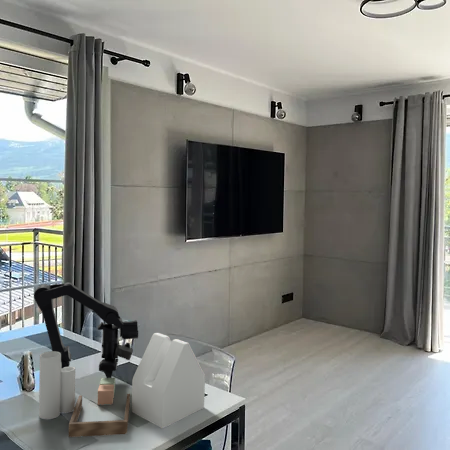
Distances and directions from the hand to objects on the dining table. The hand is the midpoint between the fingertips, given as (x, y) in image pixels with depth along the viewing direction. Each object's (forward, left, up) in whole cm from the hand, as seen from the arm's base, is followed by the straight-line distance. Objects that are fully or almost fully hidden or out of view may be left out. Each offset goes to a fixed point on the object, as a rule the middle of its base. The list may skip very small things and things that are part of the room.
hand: (109, 380), depth 168 cm
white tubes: (-15, -19, -2) cm, 25 cm away
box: (0, -26, -2) cm, 26 cm away
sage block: (0, -7, -2) cm, 8 cm away
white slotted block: (+22, -21, -2) cm, 30 cm away
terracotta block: (0, -13, -2) cm, 13 cm away
